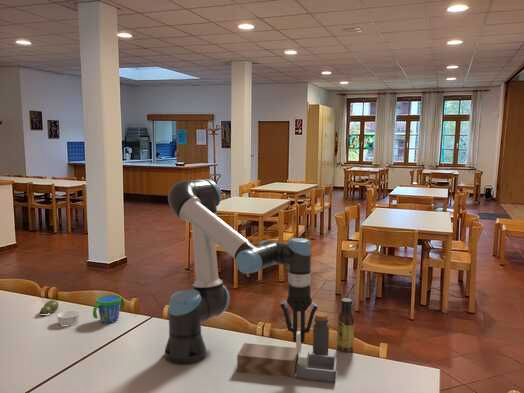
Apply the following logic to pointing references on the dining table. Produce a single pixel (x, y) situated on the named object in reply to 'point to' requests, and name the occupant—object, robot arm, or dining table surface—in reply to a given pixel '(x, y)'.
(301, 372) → the box
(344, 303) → the sauce bottle
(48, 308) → the pear
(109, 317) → the snack cup
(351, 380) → the dining table surface
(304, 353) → the tile
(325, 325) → the bottle
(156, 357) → the dining table surface
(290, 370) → the brown wooden block
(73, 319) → the ramekin
